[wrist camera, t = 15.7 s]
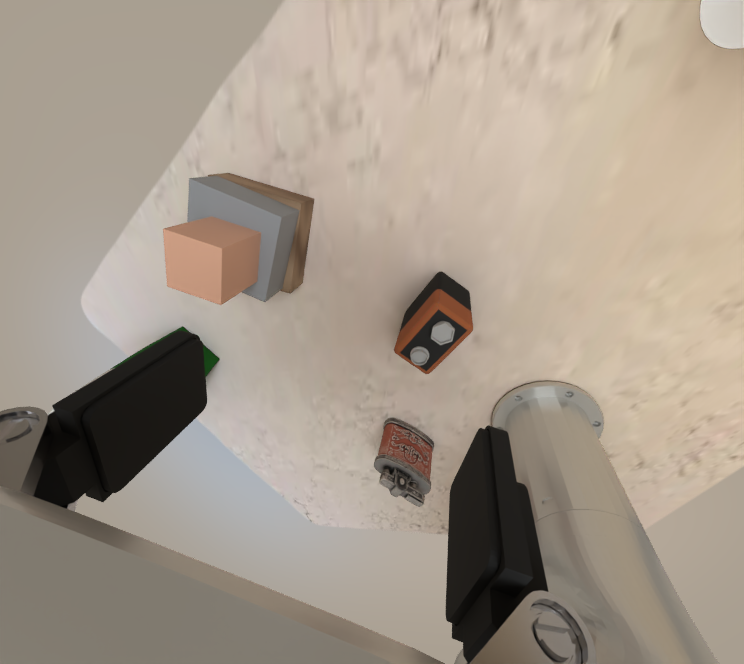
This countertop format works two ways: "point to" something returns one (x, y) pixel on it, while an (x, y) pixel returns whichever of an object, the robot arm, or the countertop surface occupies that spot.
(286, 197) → the tower base
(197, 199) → the tower top
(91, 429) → the robot arm
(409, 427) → the lighter
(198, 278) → the pillar block
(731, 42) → the champagne flute
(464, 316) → the battery
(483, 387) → the countertop surface
